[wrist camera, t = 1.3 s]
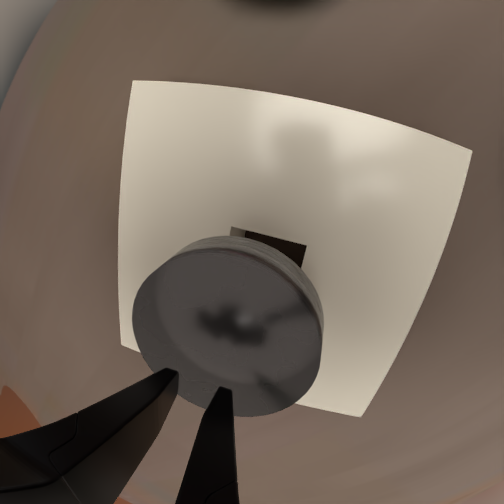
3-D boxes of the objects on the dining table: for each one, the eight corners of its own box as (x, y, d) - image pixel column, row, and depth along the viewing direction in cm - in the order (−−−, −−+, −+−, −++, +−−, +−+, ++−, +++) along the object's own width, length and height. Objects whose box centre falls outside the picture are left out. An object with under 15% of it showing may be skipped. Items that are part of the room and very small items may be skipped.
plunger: (344, 230, 14) (349, 290, 9) (306, 350, 17) (290, 433, 12) (200, 195, 16) (132, 231, 10) (187, 315, 18) (135, 381, 13)
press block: (446, 146, 16) (472, 150, 12) (360, 380, 23) (360, 417, 19) (166, 87, 19) (132, 80, 15) (146, 318, 26) (121, 344, 22)
